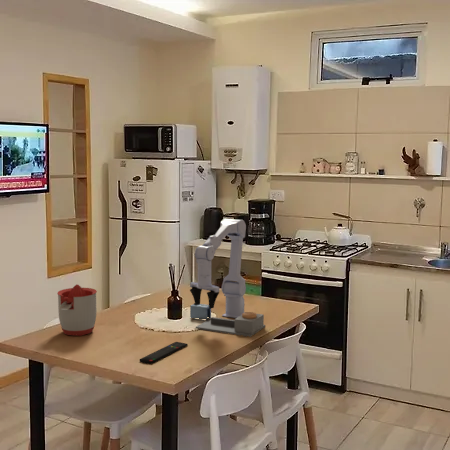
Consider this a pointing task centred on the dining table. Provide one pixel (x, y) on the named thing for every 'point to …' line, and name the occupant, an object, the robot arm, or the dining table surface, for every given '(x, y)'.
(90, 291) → the citrus juicer
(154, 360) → the remote control
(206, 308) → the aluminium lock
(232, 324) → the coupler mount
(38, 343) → the dining table surface
